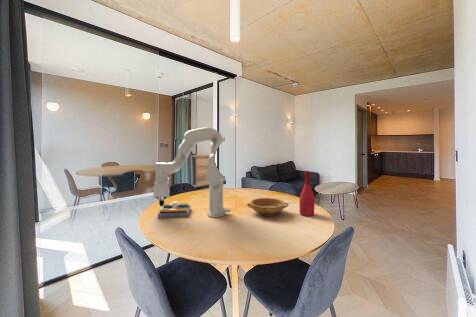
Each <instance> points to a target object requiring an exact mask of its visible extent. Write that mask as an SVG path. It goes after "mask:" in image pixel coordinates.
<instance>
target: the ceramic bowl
mask: <svg viewBox="0 0 476 317" xmlns="http://www.w3.org/2000/svg"><path fill="white" fill-rule="evenodd" d="M289 205H290V204H289V202H285V201H283V200H281V199H278V198H273V197H260V198H259V197H258V198H255V199H252V200H251V201H250V202H249V203H248V202H247V203H246V206H247V207H248V208H250V209H251V210H253V211H254V212H256V213H259V215H261V216H264V217H273V216H275V215H276V214H279V213H281V212H282V211H283V210H284V209H286V208H287V207H289Z"/></svg>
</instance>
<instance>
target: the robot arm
mask: <svg viewBox="0 0 476 317" xmlns="http://www.w3.org/2000/svg"><path fill="white" fill-rule="evenodd" d="M222 140H224V137H223V135H222V134H221V132H219V131H218V130H217V129H215V128H213V127H210V126H206V127H201V128H195V129H190V130H187V131H186V132H185V133H184V136H183V140H182V142H181V143H180V144H179V146H178V148H177V154H176V156H175V157H174V159H173V160H172V161H171V162H165V161H164V162H163V161H159V162H155V164H154V165H155V166H154V167H155V181H154V184H153V199H157V200H158V204H159V206H160V207H163V205H164V204H165V200H166V199H168V198H170V192H171V190H170V183H169V181H170V178H169V177H168V174H171V175H172V174H174V173H177V172H179V171H180V170H181V169H182V167H183V166H184V164H185V163H186V161H187V159H188V158H189V156H190V154H191V152H192V151H193V150H194V148H195V147H196V145H198V143H201V142H207V141H210V155H209V157H208V158H207V162H206V182H207V184H208V186H209V188H208V190H209V191H208V195H209V196H208V199H209V200H208V201H209V206H208V207H209V211H208V212H207V213H206V215H207V216H208V217H211V218H222V217H224V216H226V213H230V212H231V209H230V208H226V207H224V177H222V176H221V175H220V174H219V172H218V171H217V169H216V167H215V164H214V153H215V150H216V148H217V146H218V145H219V143H220V142H221V141H222Z"/></svg>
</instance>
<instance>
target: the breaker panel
mask: <svg viewBox="0 0 476 317" xmlns="http://www.w3.org/2000/svg"><path fill="white" fill-rule="evenodd" d="M191 207H192V206H191V205H190V204H189V203H178V208H177V209H172V203H170V204H169V203H166V204H165V203H164V205H163V206H161V208H160V209H159V210H158V212H157V219H164V218H165V219H166V218H168V217H170V218H188V217H189V216H190V212H191V209H192V208H191Z"/></svg>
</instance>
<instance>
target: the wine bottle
mask: <svg viewBox="0 0 476 317" xmlns="http://www.w3.org/2000/svg"><path fill="white" fill-rule="evenodd" d="M304 178H305V180H304V181H305V182H304V186H303V187H302V190H301V193H300V195H299V214H300V215H302V216H304V217H312V216H314V214H315V205H316V204H315V195H314V191H313V190H312V189H313V188H312V187H311V182H310V179H311V171H304Z"/></svg>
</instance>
